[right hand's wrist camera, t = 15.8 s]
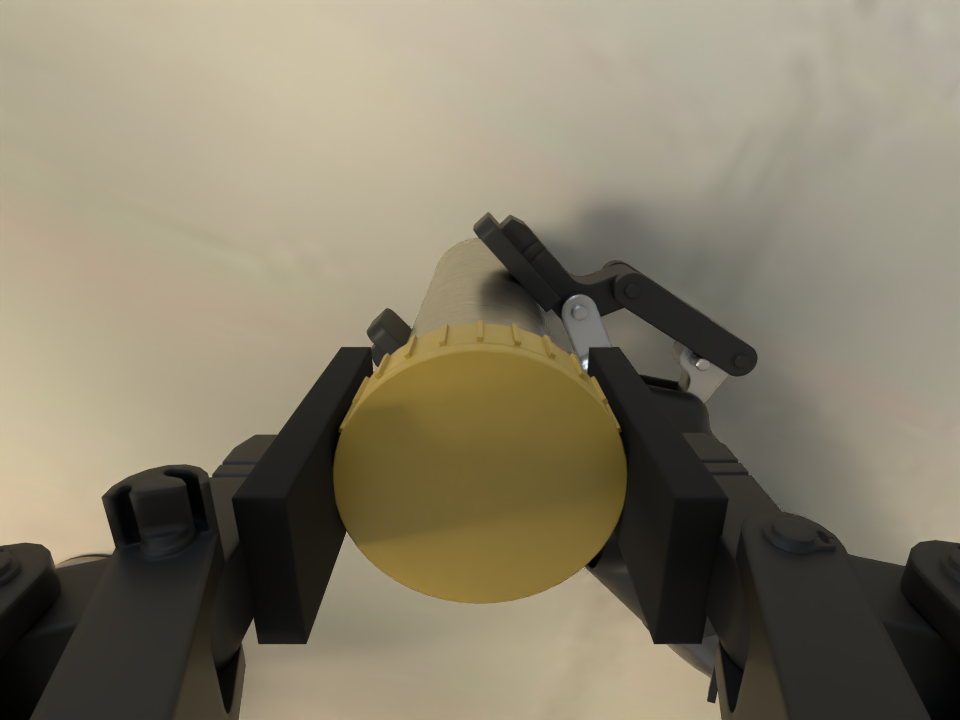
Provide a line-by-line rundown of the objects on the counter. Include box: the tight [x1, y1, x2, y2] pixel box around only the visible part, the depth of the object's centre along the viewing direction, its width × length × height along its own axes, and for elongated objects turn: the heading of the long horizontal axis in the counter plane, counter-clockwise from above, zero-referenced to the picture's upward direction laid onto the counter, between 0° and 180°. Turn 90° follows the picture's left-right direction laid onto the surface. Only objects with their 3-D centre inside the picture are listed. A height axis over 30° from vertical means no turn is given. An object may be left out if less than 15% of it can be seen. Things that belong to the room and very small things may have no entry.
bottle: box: [407, 239, 554, 344], centre depth 19 cm, size 4×4×17 cm
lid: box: [333, 320, 628, 603], centre depth 11 cm, size 6×6×2 cm
